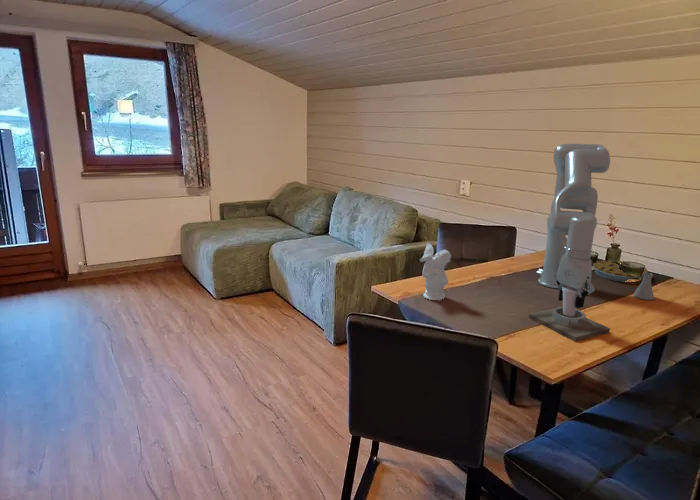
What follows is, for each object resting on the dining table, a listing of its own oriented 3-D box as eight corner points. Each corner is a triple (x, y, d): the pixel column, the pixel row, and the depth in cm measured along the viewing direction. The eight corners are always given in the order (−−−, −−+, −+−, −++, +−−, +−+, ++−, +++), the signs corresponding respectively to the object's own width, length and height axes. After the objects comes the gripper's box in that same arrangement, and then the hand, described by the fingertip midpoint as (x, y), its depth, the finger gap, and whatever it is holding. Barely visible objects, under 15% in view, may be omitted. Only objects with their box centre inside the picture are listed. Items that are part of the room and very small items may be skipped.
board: (528, 317, 165) (528, 313, 164) (560, 310, 171) (561, 306, 171) (574, 341, 147) (575, 337, 147) (609, 332, 154) (610, 328, 153)
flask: (657, 301, 180) (662, 277, 177) (637, 299, 181) (641, 276, 178) (650, 294, 186) (654, 271, 184) (630, 293, 188) (634, 270, 185)
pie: (610, 265, 223) (612, 255, 222) (657, 279, 205) (659, 268, 203) (581, 272, 213) (583, 262, 212) (627, 287, 195) (629, 276, 193)
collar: (545, 317, 161) (547, 309, 160) (566, 312, 165) (567, 305, 164) (569, 329, 152) (570, 321, 152) (590, 324, 156) (592, 315, 156)
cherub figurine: (451, 300, 181) (456, 246, 174) (427, 306, 175) (430, 251, 168) (431, 289, 191) (435, 239, 184) (407, 295, 185) (410, 243, 178)
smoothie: (577, 311, 160) (583, 273, 156) (580, 319, 154) (586, 279, 150) (557, 309, 162) (562, 272, 158) (559, 316, 156) (564, 277, 152)
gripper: (549, 248, 158) (542, 296, 163) (592, 262, 143) (584, 315, 148) (564, 245, 161) (558, 293, 166) (609, 259, 146) (600, 311, 151)
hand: (570, 303), depth 157 cm, fingers closed on smoothie, 6 cm apart
